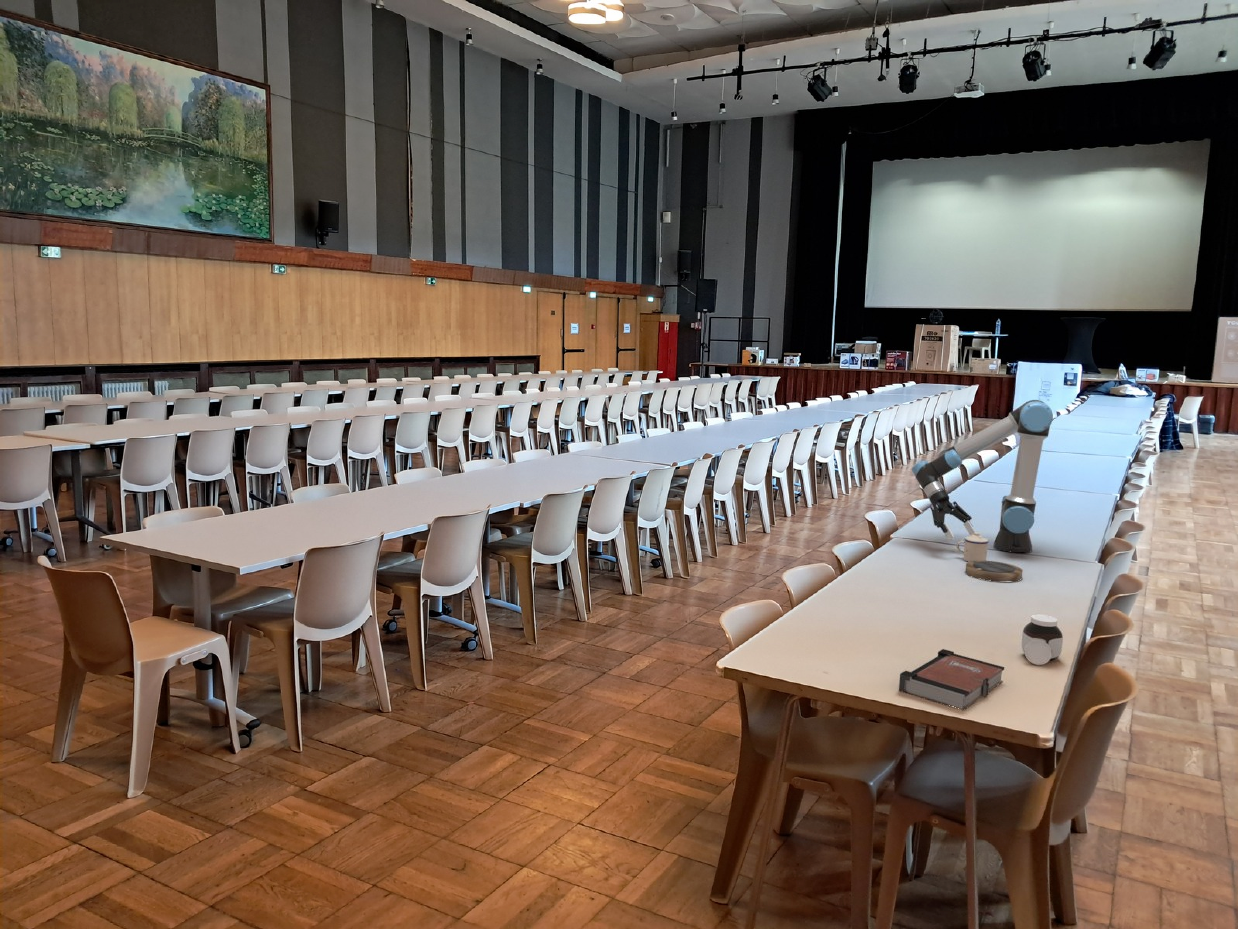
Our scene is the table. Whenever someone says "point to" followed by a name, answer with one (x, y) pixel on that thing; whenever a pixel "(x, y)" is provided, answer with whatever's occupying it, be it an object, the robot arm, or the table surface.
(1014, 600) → the table surface
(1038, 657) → the spread jar
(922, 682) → the book
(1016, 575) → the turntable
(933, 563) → the table surface
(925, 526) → the table surface
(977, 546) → the teacup with lid
